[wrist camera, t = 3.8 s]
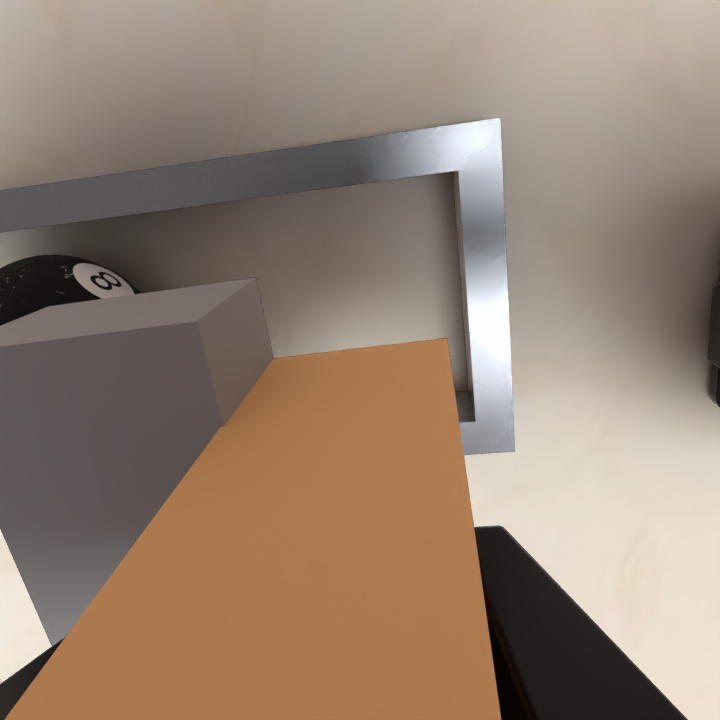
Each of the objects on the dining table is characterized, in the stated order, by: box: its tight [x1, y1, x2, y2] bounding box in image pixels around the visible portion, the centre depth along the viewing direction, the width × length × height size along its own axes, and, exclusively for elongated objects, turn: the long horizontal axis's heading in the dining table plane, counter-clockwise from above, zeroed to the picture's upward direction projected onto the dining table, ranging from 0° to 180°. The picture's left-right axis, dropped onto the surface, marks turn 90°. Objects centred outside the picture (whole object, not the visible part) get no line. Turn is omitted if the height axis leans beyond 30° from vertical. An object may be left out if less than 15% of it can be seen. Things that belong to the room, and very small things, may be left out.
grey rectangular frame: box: [0, 118, 515, 455], centre depth 19 cm, size 19×10×2 cm, turn 98°
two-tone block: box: [0, 277, 501, 720], centre depth 7 cm, size 8×7×10 cm
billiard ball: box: [0, 255, 141, 326], centre depth 18 cm, size 6×6×6 cm
